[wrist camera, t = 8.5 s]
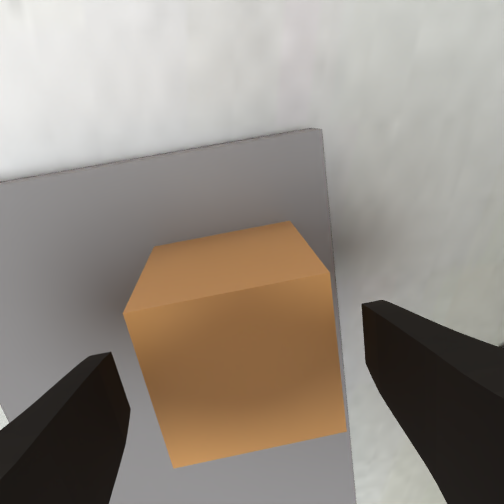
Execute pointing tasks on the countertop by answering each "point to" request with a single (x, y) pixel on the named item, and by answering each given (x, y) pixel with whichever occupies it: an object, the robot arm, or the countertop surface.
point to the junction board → (124, 281)
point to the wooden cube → (237, 343)
